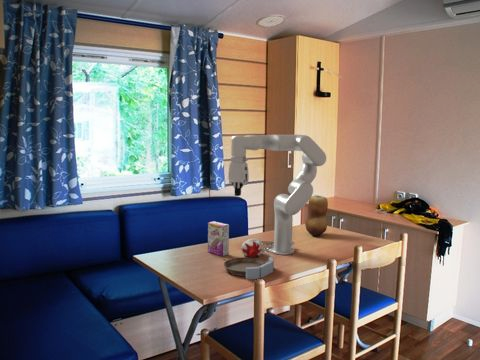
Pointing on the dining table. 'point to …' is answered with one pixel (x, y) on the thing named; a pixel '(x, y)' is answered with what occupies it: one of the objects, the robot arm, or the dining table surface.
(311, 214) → the butternut squash
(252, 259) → the plant saucer
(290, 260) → the dining table surface
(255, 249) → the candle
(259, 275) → the grey curved bar
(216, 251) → the candy bar box
